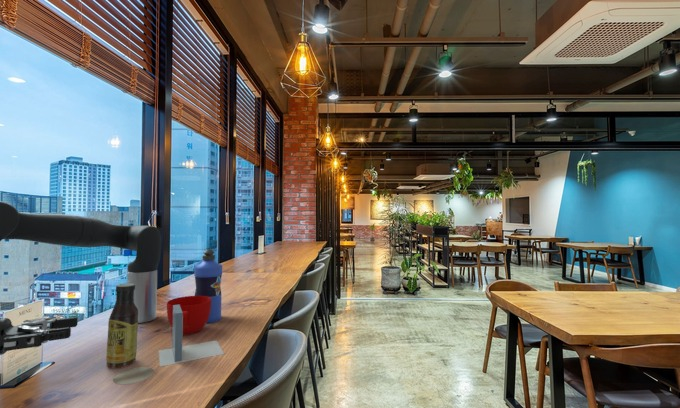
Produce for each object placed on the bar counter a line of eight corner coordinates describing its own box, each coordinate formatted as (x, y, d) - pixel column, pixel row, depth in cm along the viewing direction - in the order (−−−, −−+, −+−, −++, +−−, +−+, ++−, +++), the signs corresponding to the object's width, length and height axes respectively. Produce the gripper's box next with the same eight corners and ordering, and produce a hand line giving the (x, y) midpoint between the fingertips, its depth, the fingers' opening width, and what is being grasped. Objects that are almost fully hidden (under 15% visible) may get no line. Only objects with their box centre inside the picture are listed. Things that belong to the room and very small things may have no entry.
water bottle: (226, 316, 124) (227, 248, 124) (214, 324, 114) (215, 250, 115) (201, 315, 125) (203, 247, 125) (188, 323, 115) (189, 250, 116)
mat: (160, 368, 82) (160, 366, 82) (158, 352, 91) (158, 350, 91) (224, 355, 89) (224, 353, 89) (216, 341, 99) (216, 340, 99)
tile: (174, 361, 84) (175, 313, 84) (172, 349, 92) (172, 305, 92) (182, 360, 85) (183, 312, 85) (179, 348, 93) (180, 304, 93)
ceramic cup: (157, 346, 95) (158, 310, 95) (171, 327, 111) (171, 296, 111) (206, 342, 98) (207, 307, 99) (212, 324, 115) (213, 294, 115)
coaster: (105, 380, 75) (105, 378, 75) (141, 366, 82) (141, 364, 82) (125, 389, 71) (125, 387, 71) (161, 374, 78) (161, 372, 78)
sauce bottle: (99, 368, 81) (102, 286, 82) (123, 358, 87) (125, 281, 88) (120, 372, 79) (122, 287, 80) (143, 361, 85) (144, 282, 86)
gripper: (-39, 332, 64) (68, 318, 73) (-10, 313, 77) (79, 303, 85) (-40, 371, 64) (67, 354, 72) (-11, 346, 77) (79, 333, 85)
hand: (74, 326), depth 79 cm, fingers open, 8 cm apart
